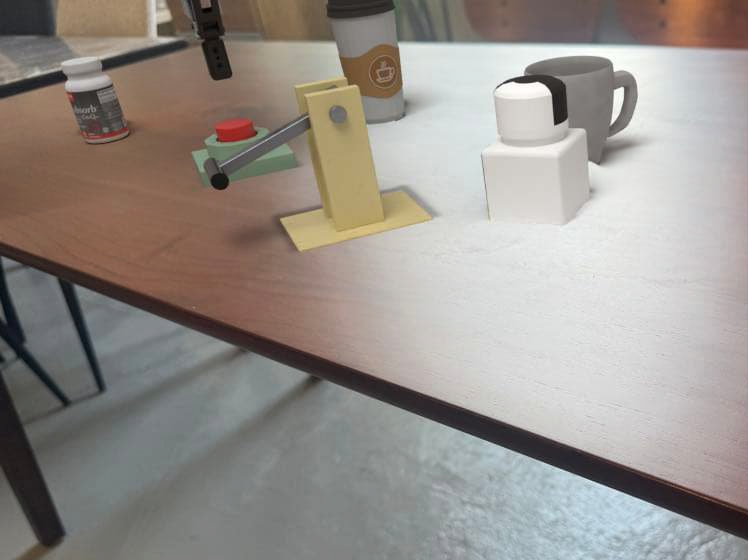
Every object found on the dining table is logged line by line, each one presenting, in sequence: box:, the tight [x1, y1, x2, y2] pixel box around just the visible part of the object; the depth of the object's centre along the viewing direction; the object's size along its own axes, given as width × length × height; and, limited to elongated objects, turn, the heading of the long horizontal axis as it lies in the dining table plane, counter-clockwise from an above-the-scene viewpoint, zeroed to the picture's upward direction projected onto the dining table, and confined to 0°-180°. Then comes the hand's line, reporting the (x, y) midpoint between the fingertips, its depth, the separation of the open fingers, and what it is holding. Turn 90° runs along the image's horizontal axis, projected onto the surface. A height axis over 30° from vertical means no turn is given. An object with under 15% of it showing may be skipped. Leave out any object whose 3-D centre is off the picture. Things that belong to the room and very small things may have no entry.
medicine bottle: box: [480, 75, 591, 227], centre depth 74 cm, size 7×7×12 cm
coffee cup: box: [325, 0, 406, 125], centre depth 107 cm, size 8×8×15 cm
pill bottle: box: [60, 56, 130, 144], centre depth 113 cm, size 6×6×10 cm
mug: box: [523, 55, 639, 165], centre depth 87 cm, size 12×9×10 cm
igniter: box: [190, 126, 298, 188], centre depth 96 cm, size 10×9×4 cm
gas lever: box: [203, 85, 338, 191], centre depth 72 cm, size 13×5×2 cm, turn 115°
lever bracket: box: [279, 75, 433, 254], centre depth 75 cm, size 12×9×13 cm
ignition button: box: [214, 117, 256, 143], centre depth 95 cm, size 4×4×2 cm
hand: (222, 78), depth 92 cm, fingers closed
